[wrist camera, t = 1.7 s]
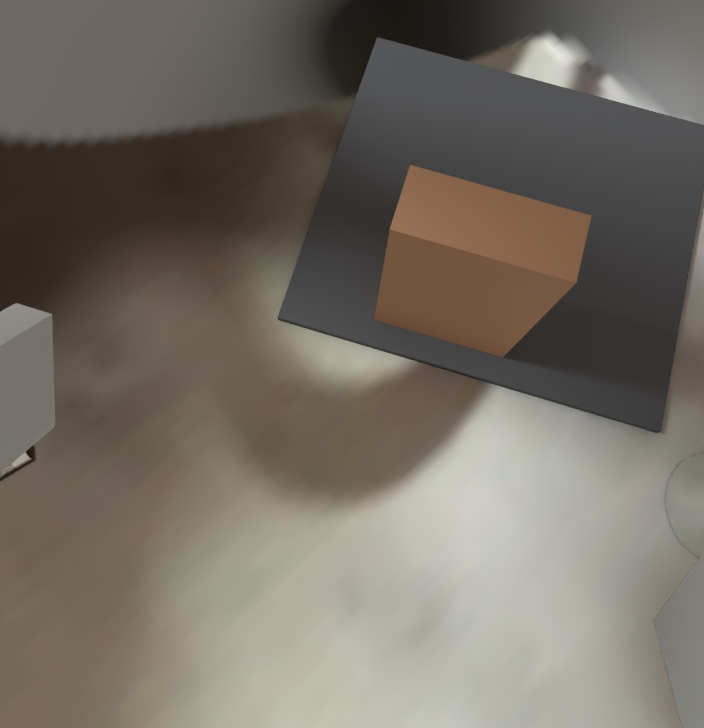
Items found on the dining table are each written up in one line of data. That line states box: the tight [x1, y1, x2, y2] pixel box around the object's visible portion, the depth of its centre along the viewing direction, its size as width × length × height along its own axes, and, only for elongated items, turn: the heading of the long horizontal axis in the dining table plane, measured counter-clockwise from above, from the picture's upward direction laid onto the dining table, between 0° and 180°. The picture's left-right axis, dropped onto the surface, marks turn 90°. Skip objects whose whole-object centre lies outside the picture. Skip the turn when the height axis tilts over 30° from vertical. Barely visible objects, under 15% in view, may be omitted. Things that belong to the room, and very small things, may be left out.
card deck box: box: [374, 165, 591, 358], centre depth 29 cm, size 8×3×11 cm, turn 73°
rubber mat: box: [278, 37, 704, 433], centre depth 37 cm, size 22×20×1 cm
